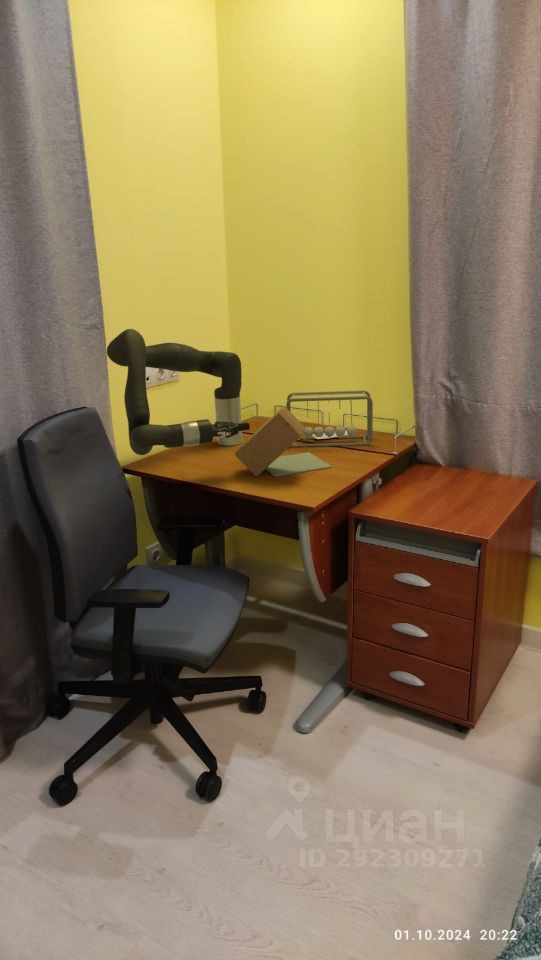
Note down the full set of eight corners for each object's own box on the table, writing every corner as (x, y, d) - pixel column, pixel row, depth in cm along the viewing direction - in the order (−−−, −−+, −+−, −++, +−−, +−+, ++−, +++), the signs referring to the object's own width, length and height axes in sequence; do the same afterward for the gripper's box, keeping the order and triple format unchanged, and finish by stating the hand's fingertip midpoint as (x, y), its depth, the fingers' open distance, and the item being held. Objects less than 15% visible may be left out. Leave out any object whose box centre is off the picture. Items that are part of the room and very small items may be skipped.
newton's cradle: (370, 437, 260) (370, 390, 255) (372, 445, 250) (372, 396, 245) (288, 440, 262) (286, 392, 256) (287, 448, 252) (286, 398, 246)
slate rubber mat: (255, 461, 238) (255, 460, 238) (309, 453, 244) (309, 452, 244) (274, 476, 222) (274, 475, 222) (331, 467, 228) (331, 466, 228)
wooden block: (256, 477, 222) (301, 436, 215) (233, 454, 221) (278, 412, 214) (262, 467, 231) (306, 427, 224) (241, 445, 230) (284, 404, 223)
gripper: (200, 425, 211) (255, 418, 216) (189, 416, 223) (241, 410, 228) (202, 450, 213) (256, 442, 219) (191, 439, 225) (242, 432, 231)
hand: (248, 425), depth 224 cm, fingers closed
